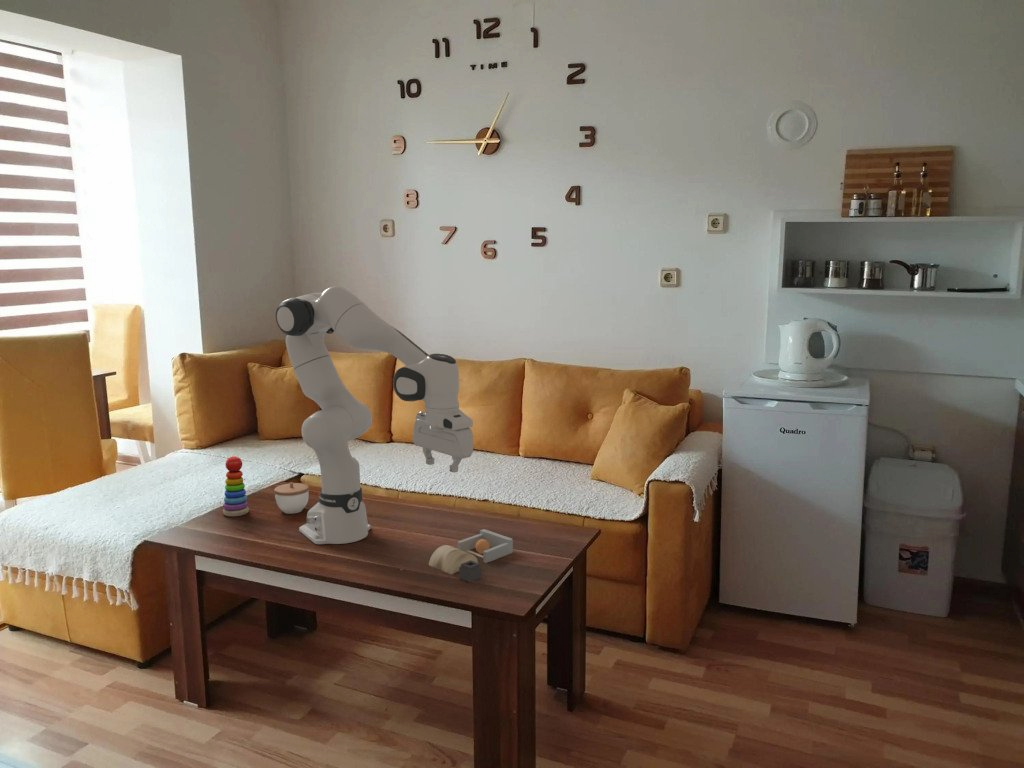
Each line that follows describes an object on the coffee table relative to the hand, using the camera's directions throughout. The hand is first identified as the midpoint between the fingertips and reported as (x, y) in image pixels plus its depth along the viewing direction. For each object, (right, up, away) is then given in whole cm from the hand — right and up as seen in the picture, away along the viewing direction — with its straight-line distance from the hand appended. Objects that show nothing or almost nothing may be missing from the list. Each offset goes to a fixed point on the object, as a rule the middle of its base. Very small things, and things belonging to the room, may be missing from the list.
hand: (441, 467), depth 208 cm
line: (+9, -25, +10) cm, 28 cm away
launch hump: (+3, -32, +4) cm, 32 cm away
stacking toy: (-70, -20, +47) cm, 87 cm away
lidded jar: (-53, -19, +49) cm, 74 cm away
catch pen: (+11, -25, +12) cm, 29 cm away
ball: (+10, -23, +10) cm, 27 cm away
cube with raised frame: (+8, -28, -6) cm, 29 cm away
